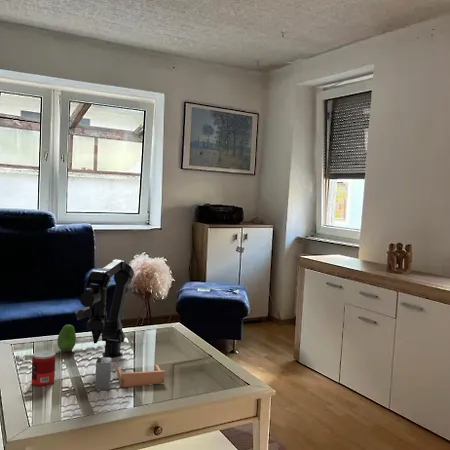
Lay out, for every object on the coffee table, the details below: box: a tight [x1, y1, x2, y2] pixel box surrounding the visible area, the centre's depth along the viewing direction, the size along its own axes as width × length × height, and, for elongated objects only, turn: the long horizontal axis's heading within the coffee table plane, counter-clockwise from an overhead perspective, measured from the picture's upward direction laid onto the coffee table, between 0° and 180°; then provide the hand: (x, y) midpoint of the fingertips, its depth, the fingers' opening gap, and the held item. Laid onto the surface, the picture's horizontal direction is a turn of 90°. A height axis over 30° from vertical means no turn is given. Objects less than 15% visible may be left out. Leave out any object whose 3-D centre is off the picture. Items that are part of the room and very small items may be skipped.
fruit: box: [57, 324, 77, 353], centre depth 206 cm, size 8×8×12 cm
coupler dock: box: [116, 364, 166, 388], centre depth 181 cm, size 12×16×5 cm
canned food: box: [31, 349, 57, 387], centre depth 172 cm, size 8×8×11 cm
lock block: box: [94, 357, 113, 391], centre depth 172 cm, size 5×5×10 cm
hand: (96, 339), depth 188 cm, fingers open, 9 cm apart
